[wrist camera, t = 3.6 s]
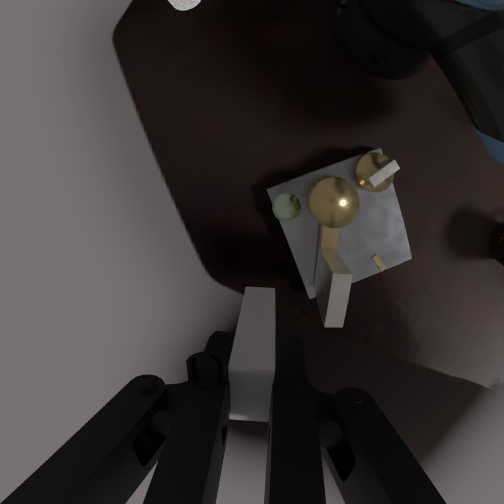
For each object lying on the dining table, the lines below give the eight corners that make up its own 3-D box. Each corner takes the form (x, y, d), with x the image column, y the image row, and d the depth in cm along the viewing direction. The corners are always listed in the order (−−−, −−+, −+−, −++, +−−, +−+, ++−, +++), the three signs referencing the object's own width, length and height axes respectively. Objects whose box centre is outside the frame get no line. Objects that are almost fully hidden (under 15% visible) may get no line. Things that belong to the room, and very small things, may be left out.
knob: (308, 174, 34) (321, 176, 25) (355, 178, 34) (383, 183, 24) (298, 287, 39) (305, 326, 29) (341, 289, 38) (360, 327, 29)
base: (265, 189, 38) (262, 194, 31) (375, 148, 35) (395, 146, 28) (306, 293, 41) (311, 317, 35) (406, 254, 38) (427, 270, 32)
